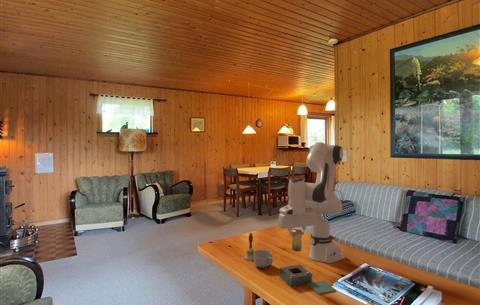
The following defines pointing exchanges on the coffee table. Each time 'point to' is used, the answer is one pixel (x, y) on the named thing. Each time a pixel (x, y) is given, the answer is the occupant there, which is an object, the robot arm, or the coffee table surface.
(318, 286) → the coaster
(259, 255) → the teacup
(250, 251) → the hand bell
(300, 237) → the plug
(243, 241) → the coffee table surface
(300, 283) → the housing
